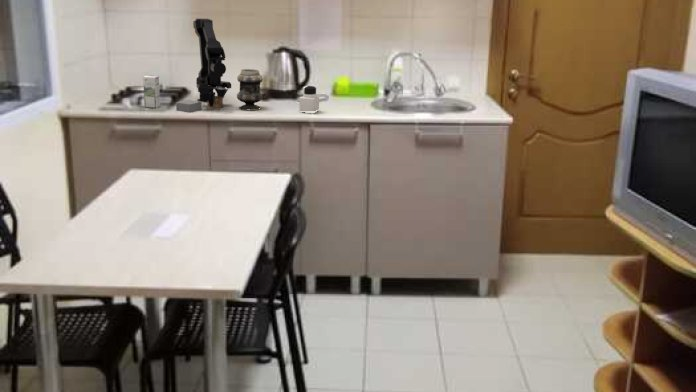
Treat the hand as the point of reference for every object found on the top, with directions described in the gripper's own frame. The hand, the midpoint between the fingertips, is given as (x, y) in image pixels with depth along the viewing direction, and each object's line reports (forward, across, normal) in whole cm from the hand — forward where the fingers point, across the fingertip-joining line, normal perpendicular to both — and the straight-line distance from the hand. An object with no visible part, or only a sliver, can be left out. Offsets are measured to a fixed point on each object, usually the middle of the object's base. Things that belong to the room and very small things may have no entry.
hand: (215, 105), depth 348 cm
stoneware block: (+1, +12, -6) cm, 13 cm away
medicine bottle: (+1, -17, +41) cm, 44 cm away
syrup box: (+1, +16, -24) cm, 29 cm away
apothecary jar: (+1, -8, +14) cm, 16 cm away
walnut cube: (+1, 0, 0) cm, 1 cm away
